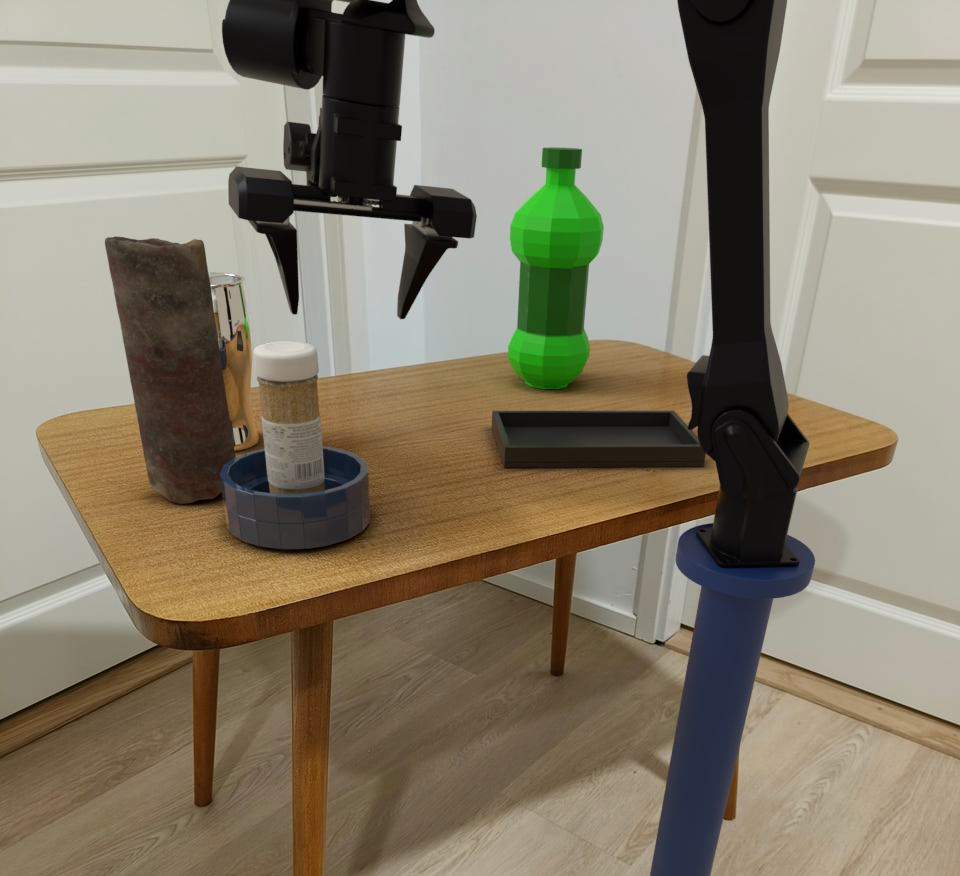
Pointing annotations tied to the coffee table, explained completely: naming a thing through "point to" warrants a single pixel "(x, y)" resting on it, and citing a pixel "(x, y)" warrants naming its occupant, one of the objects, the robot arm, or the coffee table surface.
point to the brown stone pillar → (173, 363)
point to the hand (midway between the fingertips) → (348, 315)
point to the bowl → (296, 503)
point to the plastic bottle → (554, 274)
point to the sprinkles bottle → (290, 416)
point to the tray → (595, 439)
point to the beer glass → (235, 353)
